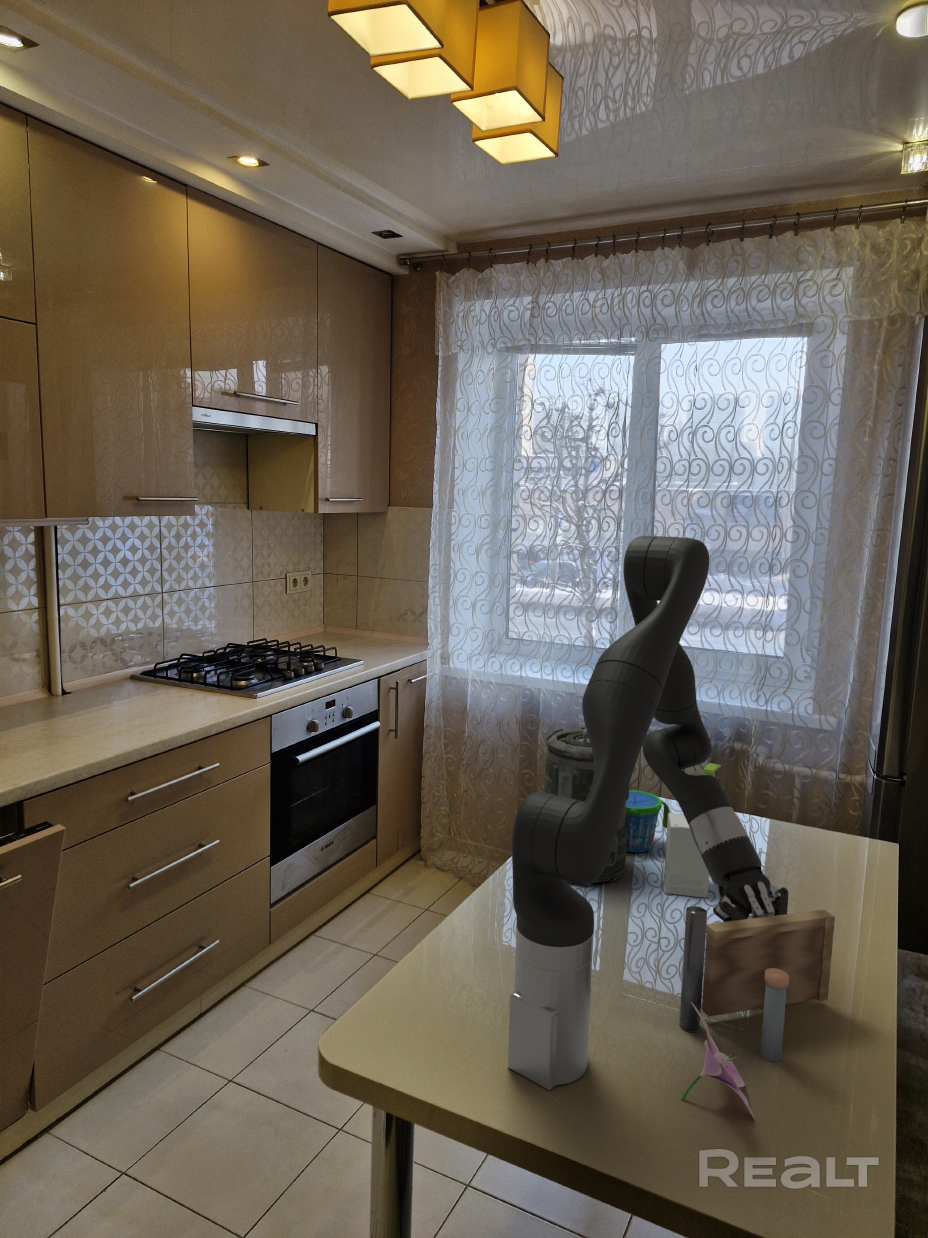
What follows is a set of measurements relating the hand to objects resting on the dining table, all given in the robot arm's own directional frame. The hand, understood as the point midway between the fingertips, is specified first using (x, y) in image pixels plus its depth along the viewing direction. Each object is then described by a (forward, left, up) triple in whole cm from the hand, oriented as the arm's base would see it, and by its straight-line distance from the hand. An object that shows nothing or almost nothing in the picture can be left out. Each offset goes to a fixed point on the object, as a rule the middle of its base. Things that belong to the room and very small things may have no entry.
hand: (781, 964), depth 111 cm
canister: (+19, +43, -6) cm, 48 cm away
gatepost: (-13, +7, -6) cm, 16 cm away
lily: (-24, -1, -6) cm, 25 cm away
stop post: (-12, -3, -6) cm, 13 cm away
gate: (-4, +1, -5) cm, 6 cm away
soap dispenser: (+36, +26, -6) cm, 45 cm away
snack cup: (+35, +41, -6) cm, 54 cm away
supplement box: (+25, +25, -6) cm, 36 cm away
